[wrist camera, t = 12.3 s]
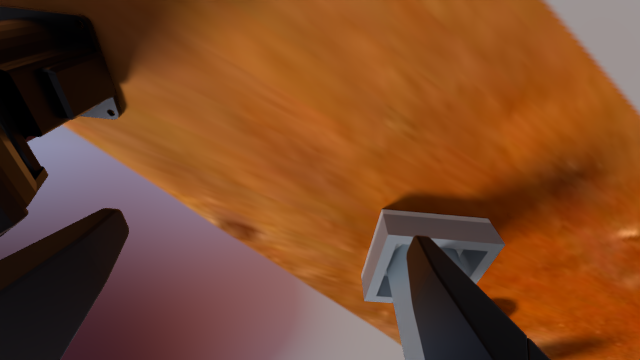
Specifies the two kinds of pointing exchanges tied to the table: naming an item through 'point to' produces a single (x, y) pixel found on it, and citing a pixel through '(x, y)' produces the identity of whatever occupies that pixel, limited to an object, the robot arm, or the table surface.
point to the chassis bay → (445, 230)
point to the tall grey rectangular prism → (408, 300)
